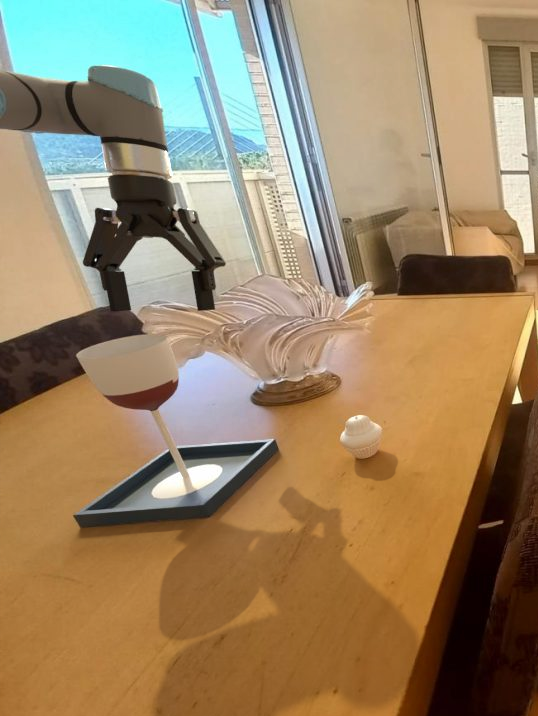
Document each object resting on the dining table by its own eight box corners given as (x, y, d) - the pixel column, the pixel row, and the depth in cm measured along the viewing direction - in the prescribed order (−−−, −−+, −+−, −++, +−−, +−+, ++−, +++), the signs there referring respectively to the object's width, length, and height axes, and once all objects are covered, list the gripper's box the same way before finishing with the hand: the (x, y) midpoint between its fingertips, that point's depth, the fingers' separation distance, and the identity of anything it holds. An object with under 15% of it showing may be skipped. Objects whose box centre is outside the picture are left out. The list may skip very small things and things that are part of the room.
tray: (79, 527, 64) (72, 515, 63) (175, 457, 79) (170, 446, 78) (209, 517, 65) (203, 505, 64) (279, 449, 80) (275, 438, 79)
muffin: (336, 460, 76) (324, 422, 74) (367, 440, 82) (357, 404, 79) (366, 467, 74) (354, 429, 72) (395, 446, 80) (385, 410, 77)
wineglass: (220, 456, 78) (164, 329, 69) (228, 480, 71) (168, 344, 63) (148, 480, 72) (78, 346, 63) (150, 509, 66) (73, 364, 57)
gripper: (239, 182, 80) (257, 308, 84) (82, 181, 79) (107, 309, 82) (204, 173, 73) (224, 311, 76) (30, 171, 71) (60, 312, 75)
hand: (164, 310), depth 79 cm, fingers open, 13 cm apart
